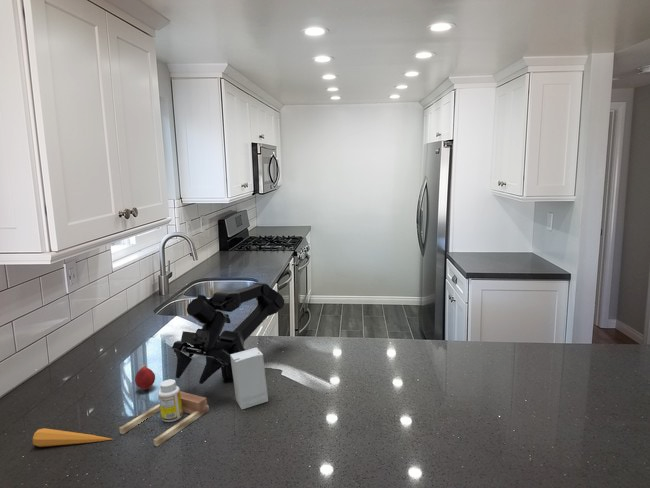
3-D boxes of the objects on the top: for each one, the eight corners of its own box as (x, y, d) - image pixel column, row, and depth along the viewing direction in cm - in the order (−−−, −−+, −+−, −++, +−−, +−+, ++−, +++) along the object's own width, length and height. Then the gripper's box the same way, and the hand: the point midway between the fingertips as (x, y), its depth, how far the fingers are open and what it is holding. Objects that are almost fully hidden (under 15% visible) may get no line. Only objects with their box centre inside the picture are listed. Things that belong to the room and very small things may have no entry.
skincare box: (262, 393, 135) (257, 346, 132) (269, 402, 129) (264, 353, 127) (234, 401, 131) (229, 352, 129) (240, 411, 126) (234, 360, 123)
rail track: (173, 400, 134) (171, 387, 134) (209, 410, 127) (207, 397, 127) (119, 433, 119) (117, 418, 118) (157, 446, 112) (155, 431, 111)
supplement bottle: (175, 409, 129) (171, 376, 127) (187, 415, 125) (182, 381, 123) (157, 418, 125) (152, 384, 123) (168, 425, 121) (164, 389, 119)
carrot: (32, 451, 115) (27, 440, 112) (41, 435, 119) (36, 424, 116) (112, 452, 115) (108, 441, 113) (119, 436, 119) (115, 425, 117)
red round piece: (149, 394, 139) (146, 370, 138) (132, 394, 140) (129, 369, 139) (160, 385, 144) (156, 361, 143) (143, 385, 146) (140, 361, 144)
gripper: (172, 315, 136) (147, 365, 128) (219, 322, 127) (195, 376, 119) (194, 331, 144) (172, 378, 137) (240, 338, 135) (219, 390, 127)
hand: (188, 380), depth 130 cm, fingers open, 9 cm apart
